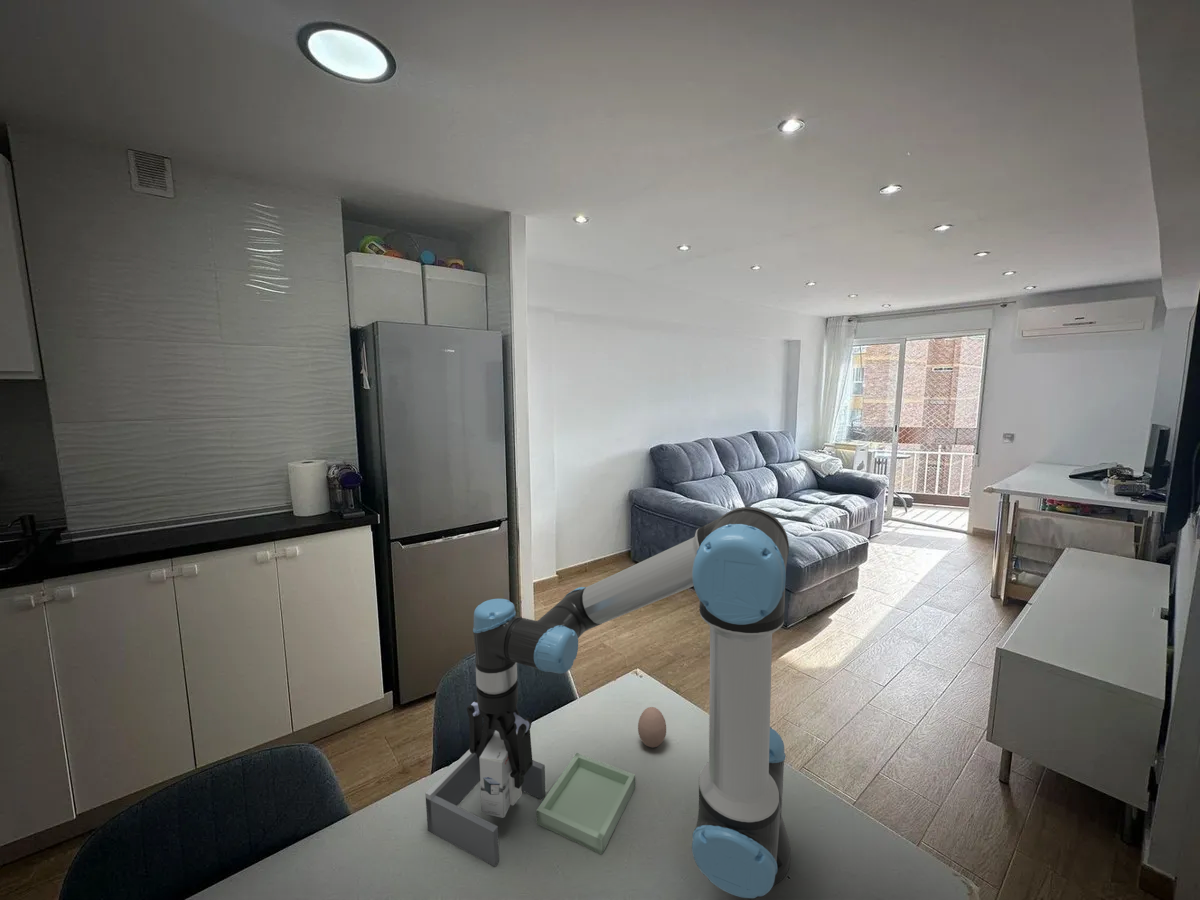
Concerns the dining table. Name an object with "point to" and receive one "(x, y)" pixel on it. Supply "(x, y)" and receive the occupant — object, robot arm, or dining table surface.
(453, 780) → the dock
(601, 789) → the tray
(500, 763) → the ink box
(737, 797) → the robot arm
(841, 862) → the dining table surface
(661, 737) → the egg
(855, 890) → the dining table surface
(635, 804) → the dining table surface
